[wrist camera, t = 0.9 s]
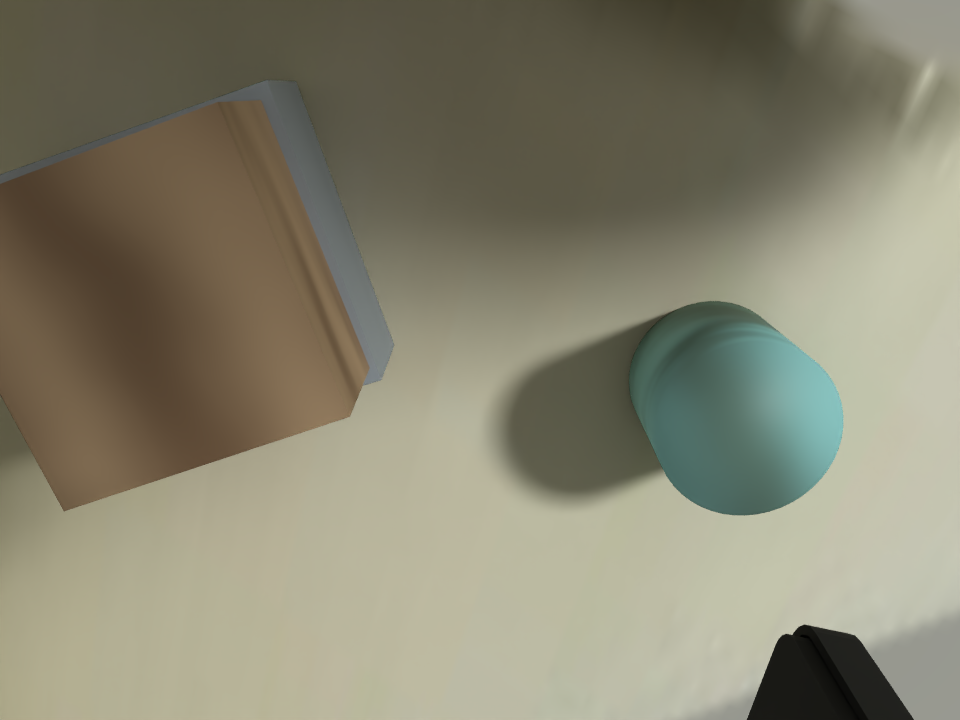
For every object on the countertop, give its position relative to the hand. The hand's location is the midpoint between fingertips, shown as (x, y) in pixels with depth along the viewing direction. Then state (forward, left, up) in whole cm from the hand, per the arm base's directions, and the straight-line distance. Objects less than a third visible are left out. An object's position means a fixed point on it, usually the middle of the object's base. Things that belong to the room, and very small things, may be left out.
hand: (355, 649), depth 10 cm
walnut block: (+8, -3, -19) cm, 21 cm away
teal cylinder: (-8, +7, -23) cm, 26 cm away
